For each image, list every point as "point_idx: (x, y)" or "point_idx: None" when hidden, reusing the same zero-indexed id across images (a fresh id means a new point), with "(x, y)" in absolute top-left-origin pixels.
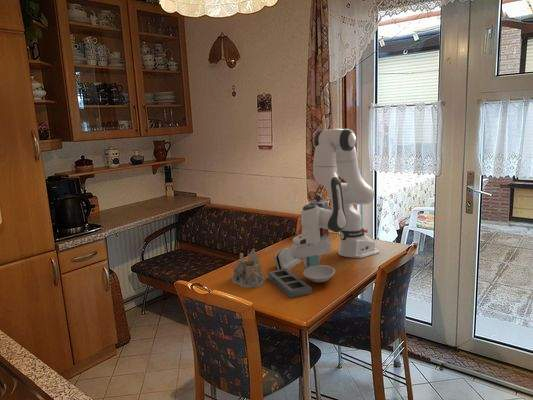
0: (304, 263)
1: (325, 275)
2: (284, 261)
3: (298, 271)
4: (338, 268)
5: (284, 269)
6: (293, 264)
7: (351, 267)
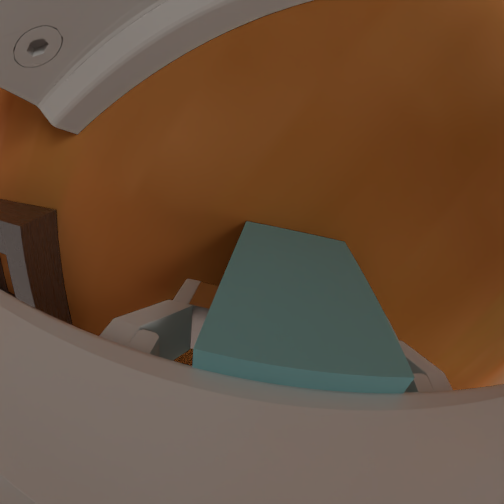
0: (181, 289)
1: None
2: (44, 53)
3: (155, 206)
4: (452, 356)
5: (6, 232)
6: (198, 28)
7: (487, 373)
